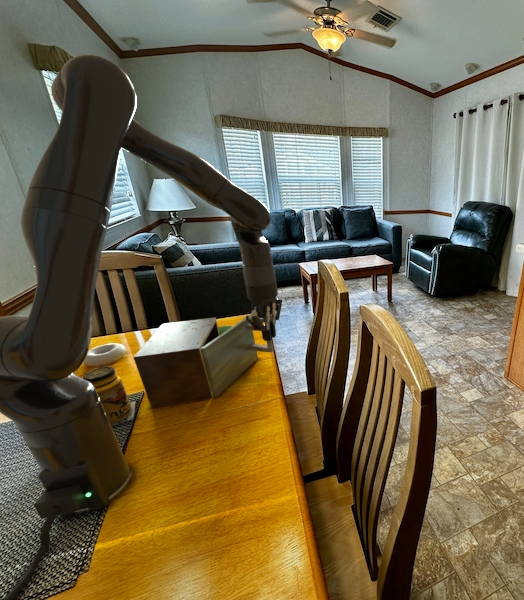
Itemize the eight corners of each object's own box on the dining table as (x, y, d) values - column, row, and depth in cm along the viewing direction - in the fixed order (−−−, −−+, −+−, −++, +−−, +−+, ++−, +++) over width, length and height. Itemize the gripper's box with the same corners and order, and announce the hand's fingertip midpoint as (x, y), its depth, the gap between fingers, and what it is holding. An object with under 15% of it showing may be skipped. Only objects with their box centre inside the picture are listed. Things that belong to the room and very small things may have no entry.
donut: (91, 373, 91) (133, 356, 99) (86, 362, 90) (129, 346, 98) (79, 362, 96) (119, 347, 104) (74, 352, 95) (116, 338, 103)
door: (278, 360, 96) (271, 318, 91) (241, 399, 80) (230, 351, 75) (255, 358, 98) (246, 316, 92) (213, 396, 81) (200, 348, 76)
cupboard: (225, 360, 97) (215, 317, 92) (212, 397, 81) (198, 348, 76) (176, 367, 93) (162, 323, 88) (151, 408, 77) (133, 357, 72)
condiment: (133, 419, 74) (116, 374, 69) (83, 435, 70) (62, 388, 65) (136, 401, 80) (120, 359, 75) (90, 415, 75) (70, 371, 71)
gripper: (263, 271, 92) (272, 326, 98) (229, 287, 79) (242, 349, 86) (287, 273, 90) (294, 329, 97) (256, 290, 78) (267, 352, 84)
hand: (269, 338), depth 91 cm, fingers closed
